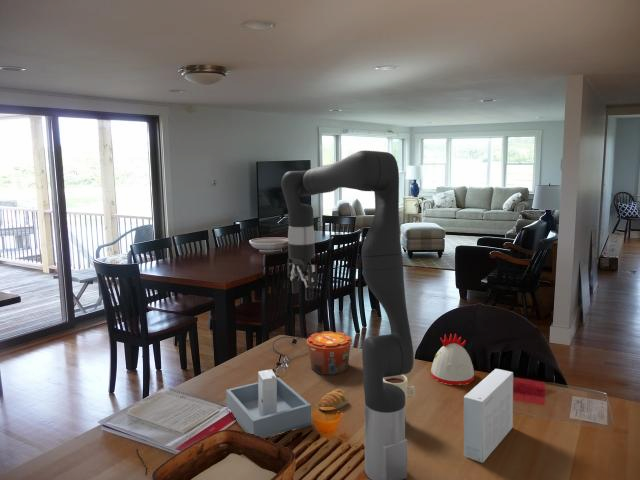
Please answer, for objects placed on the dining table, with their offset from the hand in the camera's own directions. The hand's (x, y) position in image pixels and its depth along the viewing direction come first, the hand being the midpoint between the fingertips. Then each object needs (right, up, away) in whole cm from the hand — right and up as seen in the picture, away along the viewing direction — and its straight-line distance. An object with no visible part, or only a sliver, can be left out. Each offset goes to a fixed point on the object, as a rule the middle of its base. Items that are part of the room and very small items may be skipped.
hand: (302, 296), depth 151 cm
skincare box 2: (+49, -36, -16) cm, 63 cm away
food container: (+8, -29, +31) cm, 43 cm away
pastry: (+9, -33, +4) cm, 35 cm away
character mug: (+26, -35, -7) cm, 44 cm away
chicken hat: (+49, -30, +22) cm, 62 cm away
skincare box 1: (-10, -33, -3) cm, 35 cm away
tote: (-10, -34, -3) cm, 36 cm away
